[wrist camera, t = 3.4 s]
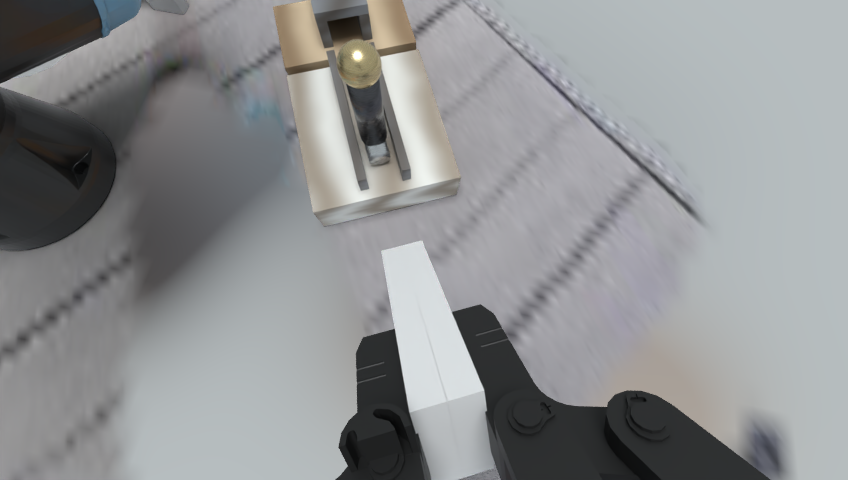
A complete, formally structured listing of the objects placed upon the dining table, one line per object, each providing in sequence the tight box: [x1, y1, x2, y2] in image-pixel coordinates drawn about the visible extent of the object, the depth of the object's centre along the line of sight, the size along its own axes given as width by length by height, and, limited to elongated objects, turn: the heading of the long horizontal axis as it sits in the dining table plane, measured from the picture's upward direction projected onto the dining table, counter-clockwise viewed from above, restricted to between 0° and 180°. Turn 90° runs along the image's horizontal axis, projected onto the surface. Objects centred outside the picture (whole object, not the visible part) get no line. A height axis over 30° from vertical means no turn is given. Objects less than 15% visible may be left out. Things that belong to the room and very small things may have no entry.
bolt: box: [336, 39, 390, 165], centre depth 28 cm, size 3×12×12 cm, turn 15°
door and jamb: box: [273, 0, 461, 227], centre depth 35 cm, size 14×25×8 cm, turn 15°
